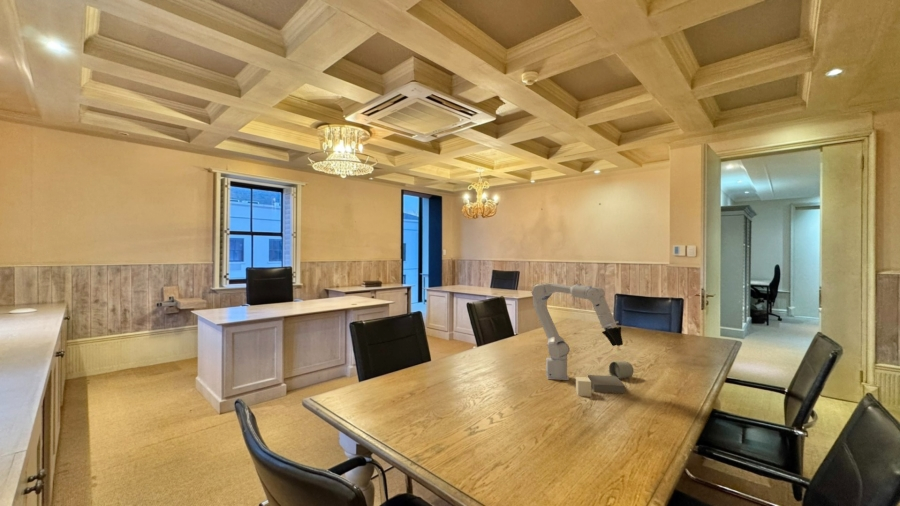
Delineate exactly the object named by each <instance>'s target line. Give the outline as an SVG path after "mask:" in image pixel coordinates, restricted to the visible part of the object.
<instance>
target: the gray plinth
mask: <svg viewBox="0 0 900 506" xmlns="http://www.w3.org/2000/svg"><path fill="white" fill-rule="evenodd" d="M587 377H588V378H589V379H590V381H591V390H593V392H596V393H612V394H613V393H614V394H625V393H626V386H625V384H624V383H623V382H622V381H621V379H618V378H617V377H616V376H611V375H600V374H599V375H597V374H595V375H594V374H587Z"/></svg>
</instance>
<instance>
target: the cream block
mask: <svg viewBox="0 0 900 506" xmlns="http://www.w3.org/2000/svg"><path fill="white" fill-rule="evenodd" d="M575 392H576V394H577V396H579V397H592V387H591V381H590V379H589V378H588V376H586V377H585V376H575Z"/></svg>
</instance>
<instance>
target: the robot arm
mask: <svg viewBox="0 0 900 506" xmlns="http://www.w3.org/2000/svg"><path fill="white" fill-rule="evenodd" d="M553 293H554V294H555V293H562V294H563V293H564V294H571V296H572V297H573V298H578V299H584V300H588V301H590V302H591V305H592V306H593V308H594V311H595V313H596V316H597V319H598V320H599V323H600V325H601V328H602V329H603V331H601V333H602V334H603V335H604V336H605V337H606V338H607V340H608V341H609V343H610V344H611V346H612V347H615V346H617V347H620V346H623V345H624V342H623V338H622V327H621V326H618V325H617V324H619V320H615V318H614V315H613V313H612V311H611V309H610V307H609V303H608V302H607V300H606V298H605V291H604V289H603V288H602V287H600V286H598V285H596V286H594V287H593V285H582V284H581V283H577V284H574V285H572V286H570V285H565V284H561V283H554V282H553V283H550V282H549V283H548V282H547V283H545V282H544V283H541V284H540V283H539V284H538V283H537V284H535V285H534V286H533V287H532V290H531V295H532V305H533V308H534V311H535V313H536V316H537V317H538V319H539V322H540V325H541V326H542V329H543V331H544V333H545V336H546V338H547V343H546V346H547V349H548V350H547V351H548V355H549V357H546V359H545V376H546V378H547V379H548V380H560V381H569V380H570V378H569V376H568V355H569V353H570V346H569V345H568V343H567V342H565V339H564V338H563V337H562V336H560V334H559V332H558V329H557V327H556V325H555V324H554V321H553V318H552V317H551V314H550V313H549V310H548V308H547V301H548V300H549V298H551V296H552V295H553Z"/></svg>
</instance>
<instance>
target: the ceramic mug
mask: <svg viewBox="0 0 900 506" xmlns="http://www.w3.org/2000/svg"><path fill="white" fill-rule="evenodd" d="M608 373H609V374H610V376H616V377H617V378H618V379H619V380H621V379H628V378H630V377H633V375H634V367H633V365H632V363H631V362H629V361H625V360H624V361H623V360H621V361H617V360H615V361H611V362H610V363H609V365H608Z"/></svg>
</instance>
